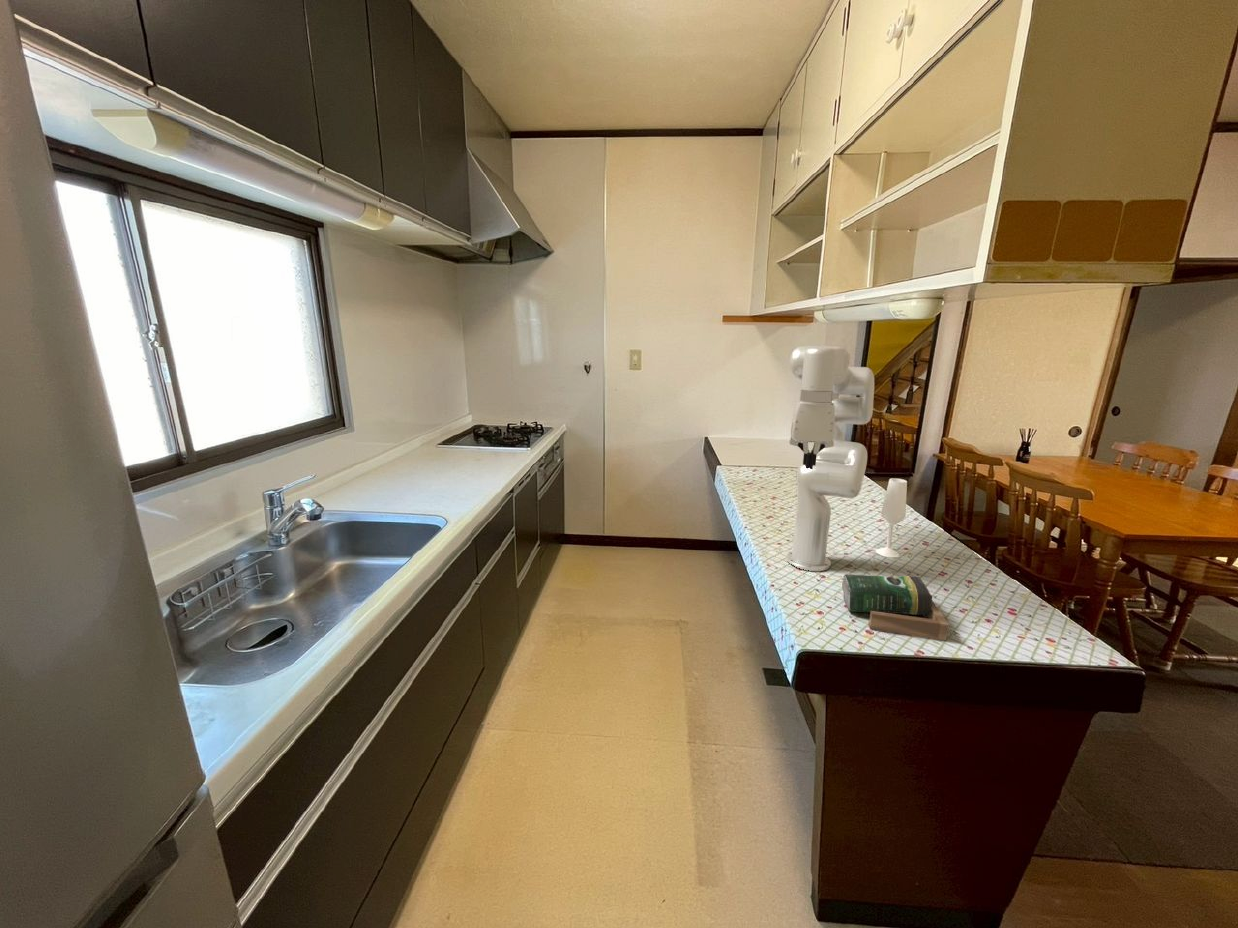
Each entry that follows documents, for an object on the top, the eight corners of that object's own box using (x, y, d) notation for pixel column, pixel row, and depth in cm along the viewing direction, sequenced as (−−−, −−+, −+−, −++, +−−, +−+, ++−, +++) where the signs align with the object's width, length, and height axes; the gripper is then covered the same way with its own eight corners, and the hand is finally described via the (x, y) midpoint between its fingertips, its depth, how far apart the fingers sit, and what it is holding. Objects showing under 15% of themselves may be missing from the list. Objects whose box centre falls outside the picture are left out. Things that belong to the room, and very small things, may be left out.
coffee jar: (848, 617, 120) (934, 621, 115) (848, 587, 118) (936, 590, 113) (841, 597, 129) (921, 600, 124) (841, 569, 127) (922, 571, 122)
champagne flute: (886, 558, 152) (898, 484, 146) (870, 549, 159) (880, 478, 153) (904, 556, 154) (916, 482, 148) (887, 547, 160) (898, 476, 154)
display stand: (856, 592, 131) (858, 579, 130) (921, 601, 127) (924, 587, 126) (869, 629, 114) (872, 614, 113) (945, 640, 110) (948, 624, 109)
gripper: (845, 397, 125) (837, 466, 130) (784, 395, 129) (778, 462, 134) (850, 400, 118) (841, 473, 123) (785, 398, 122) (779, 469, 127)
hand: (808, 467), depth 128 cm, fingers closed
